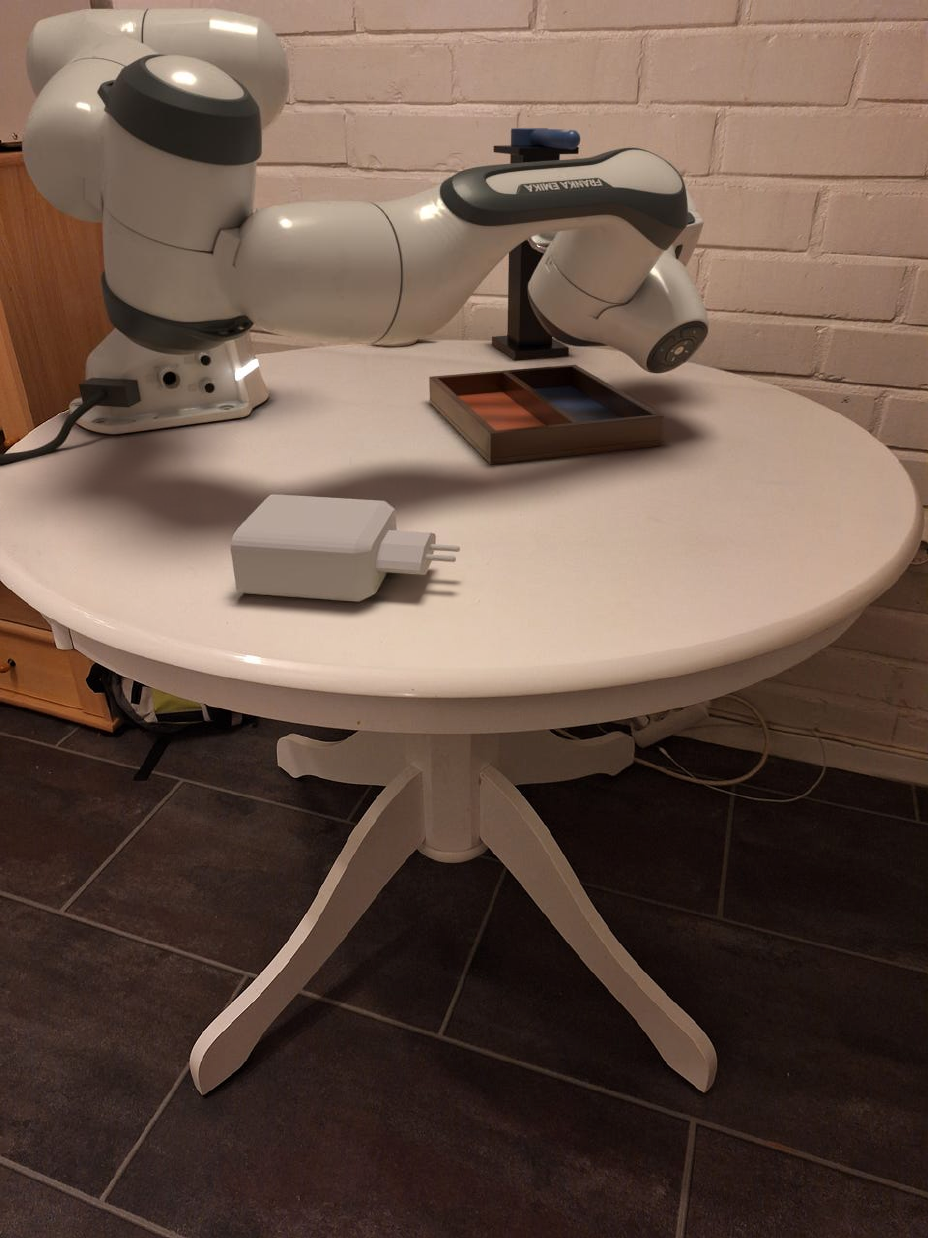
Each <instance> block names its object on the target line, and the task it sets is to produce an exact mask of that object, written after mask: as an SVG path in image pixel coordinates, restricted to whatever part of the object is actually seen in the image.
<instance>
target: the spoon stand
mask: <svg viewBox="0 0 928 1238" xmlns="http://www.w3.org/2000/svg"><path fill="white" fill-rule="evenodd" d="M579 151H580V147H579V146H577V147H576V148H574V149H563V148H551V147H538V146H511V144H510V145H509V144H508V145H507V144H505V145H493V153H496V154H505V155H510V157H509V159H510V160H509V161H510V162H509V164H512V163H525V162H540V161H554V160H561V158H560V157H561V155H579ZM544 254H545V253H542V252H539V251H538V250H536V249H534V248H532V247H531V245H530V243H529V241H528V240H525V241H524V242H522V243H521V244H519V245H518V246H517V247H515V248H514V249H513V250H512V251H510V252H509V253H508V274H507V275H508V276H507V277H508V279H507V282H508V283H507V334H506V335H497V336H495V335H494V336H492V337H491V346H493V347H494V348H496V349H497V350H499V351H501V352H502V353H503V354H505V355H506V356H507V357H509V358H511V359H512V360H514V361H524V360H535V359H549V358H560V357H561V358H562V357H569V355H570V347H569V346H567V345H566V344H565V343H563V342H560V341H558V340H556V339H555V338H554V337H552V336H551V335H550V334H549V333H548V332H547V331H546V330H545V329H544V327H543V326H542V325H541V323H540V322H539V320H538V319H537V317H536V315H535V313H534V311H533V309H532V307H531V304H530V301H529V298H528V291H527V286H528V282H529V281H530V279H531V277H532V275H533V273H534V271H535V269H536V268H537V266H538V264H539V262H540V260H541V259H542V257H543V255H544Z"/></svg>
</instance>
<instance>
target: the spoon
mask: <svg viewBox="0 0 928 1238" xmlns="http://www.w3.org/2000/svg"><path fill="white" fill-rule="evenodd" d="M580 143H581V134H580V133H579V132H578V131H577V130H575V129H558V128H557V129H556V128H554V129H553V128H547V127H525V128H524V127H517V128H515V127H514V128H513V127H512V128H511V129H510V145H511V146H538V147H551V148H563V149H574V148H576V147H579V145H580Z"/></svg>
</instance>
